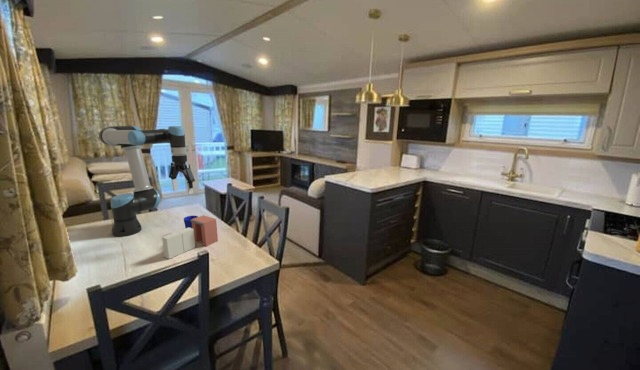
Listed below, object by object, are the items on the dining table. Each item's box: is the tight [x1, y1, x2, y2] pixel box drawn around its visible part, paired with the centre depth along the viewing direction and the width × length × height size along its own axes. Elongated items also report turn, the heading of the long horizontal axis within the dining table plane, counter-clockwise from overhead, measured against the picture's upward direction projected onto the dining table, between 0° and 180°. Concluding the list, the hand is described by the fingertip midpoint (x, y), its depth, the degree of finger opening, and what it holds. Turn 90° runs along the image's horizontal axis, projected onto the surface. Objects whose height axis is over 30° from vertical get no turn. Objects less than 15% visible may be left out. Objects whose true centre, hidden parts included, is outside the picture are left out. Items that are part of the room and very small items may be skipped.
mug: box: [183, 215, 199, 229], centre depth 171 cm, size 8×12×10 cm
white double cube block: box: [161, 227, 196, 260], centre depth 147 cm, size 4×15×11 cm, turn 150°
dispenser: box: [190, 214, 219, 247], centre depth 160 cm, size 11×9×14 cm
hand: (183, 192), depth 158 cm, fingers open, 13 cm apart
